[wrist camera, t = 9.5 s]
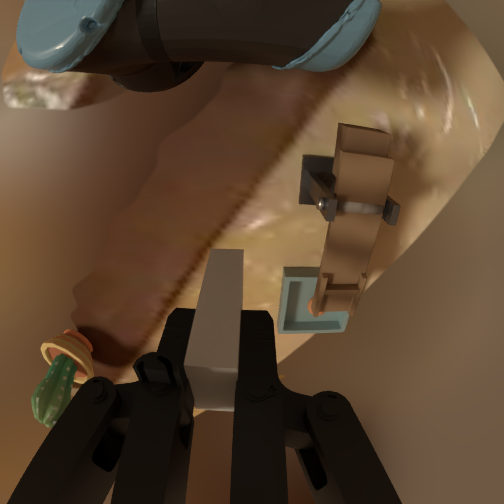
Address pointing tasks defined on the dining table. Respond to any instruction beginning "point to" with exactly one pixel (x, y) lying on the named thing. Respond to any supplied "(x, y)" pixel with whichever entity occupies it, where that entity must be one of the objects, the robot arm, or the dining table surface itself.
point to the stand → (330, 189)
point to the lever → (353, 216)
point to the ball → (310, 307)
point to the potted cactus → (61, 374)
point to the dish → (304, 305)
